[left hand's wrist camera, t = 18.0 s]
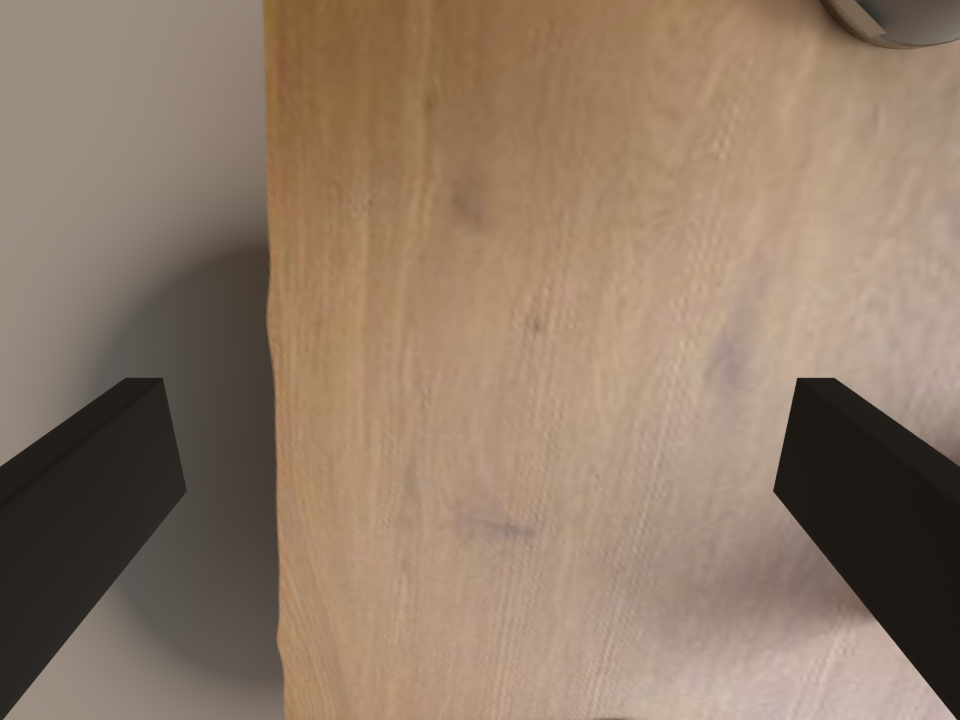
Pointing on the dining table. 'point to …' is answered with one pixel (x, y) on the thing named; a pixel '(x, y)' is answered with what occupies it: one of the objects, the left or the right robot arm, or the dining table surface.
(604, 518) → the dining table surface
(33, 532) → the left robot arm
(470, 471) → the dining table surface
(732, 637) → the dining table surface
